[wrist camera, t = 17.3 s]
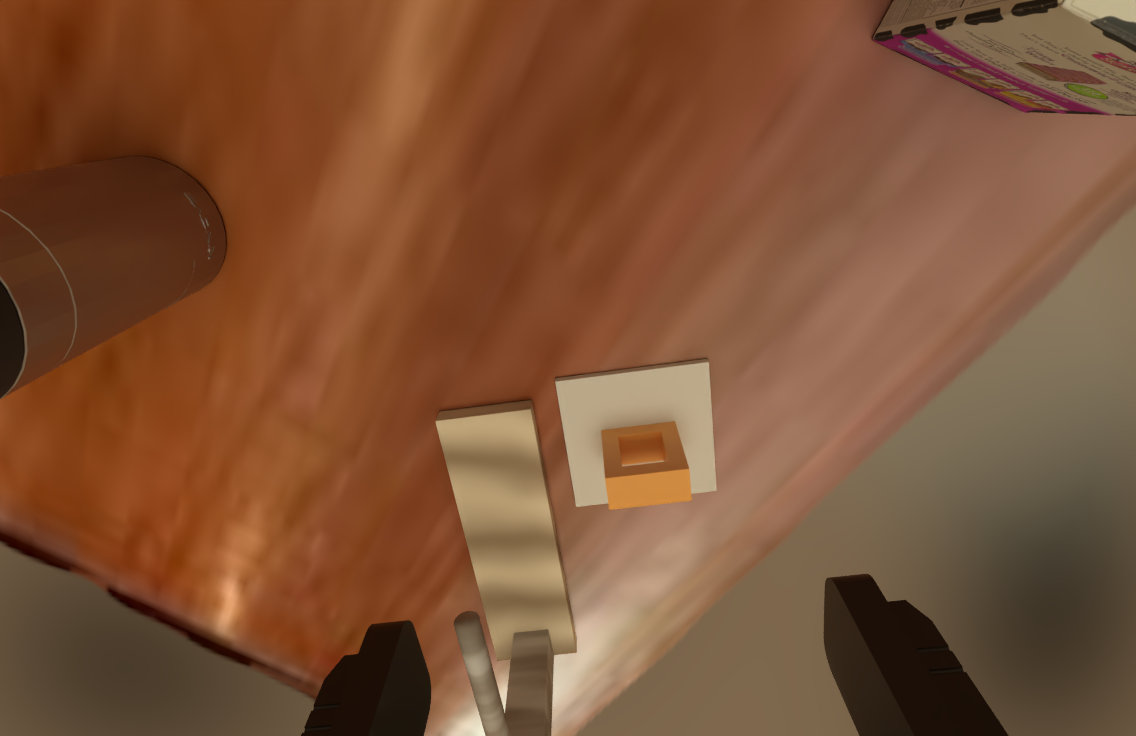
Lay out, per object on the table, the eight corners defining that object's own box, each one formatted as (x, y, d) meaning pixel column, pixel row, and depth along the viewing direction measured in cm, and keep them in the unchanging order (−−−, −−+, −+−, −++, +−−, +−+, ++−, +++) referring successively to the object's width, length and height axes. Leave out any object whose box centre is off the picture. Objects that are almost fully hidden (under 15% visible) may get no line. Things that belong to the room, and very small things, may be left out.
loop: (604, 458, 49) (609, 509, 43) (601, 430, 48) (605, 478, 42) (677, 450, 48) (691, 500, 43) (675, 421, 47) (689, 468, 42)
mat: (576, 502, 51) (576, 506, 51) (555, 378, 47) (555, 381, 46) (715, 486, 50) (716, 490, 50) (707, 358, 46) (708, 362, 45)
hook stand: (576, 638, 57) (577, 864, 41) (499, 646, 57) (469, 872, 41) (531, 399, 47) (509, 567, 31) (439, 411, 48) (369, 583, 31)
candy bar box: (1078, 28, 37) (1417, -10, 22) (1024, 114, 39) (1303, 132, 24) (913, -54, 36) (1159, -153, 21) (865, 40, 38) (1059, 11, 23)
